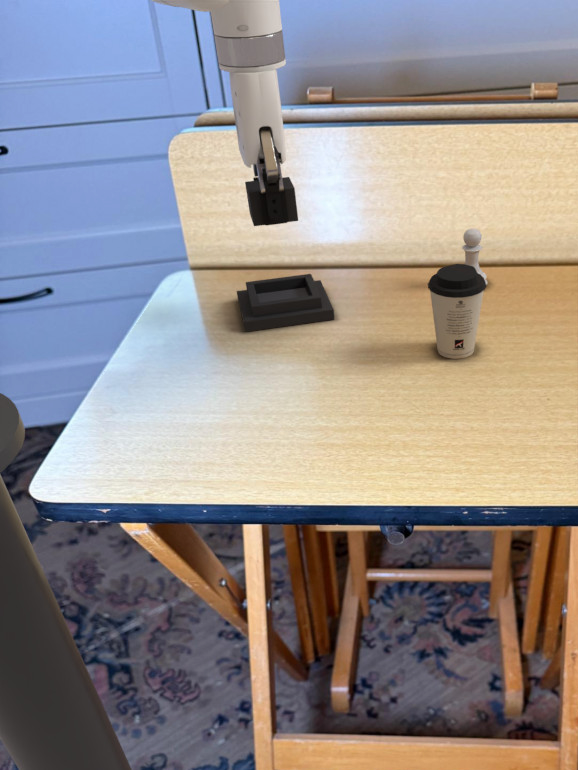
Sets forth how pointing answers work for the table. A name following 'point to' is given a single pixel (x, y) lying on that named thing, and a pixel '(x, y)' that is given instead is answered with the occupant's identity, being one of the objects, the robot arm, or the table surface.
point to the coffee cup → (456, 308)
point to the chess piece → (473, 249)
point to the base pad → (284, 302)
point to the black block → (254, 201)
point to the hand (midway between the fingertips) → (273, 214)
